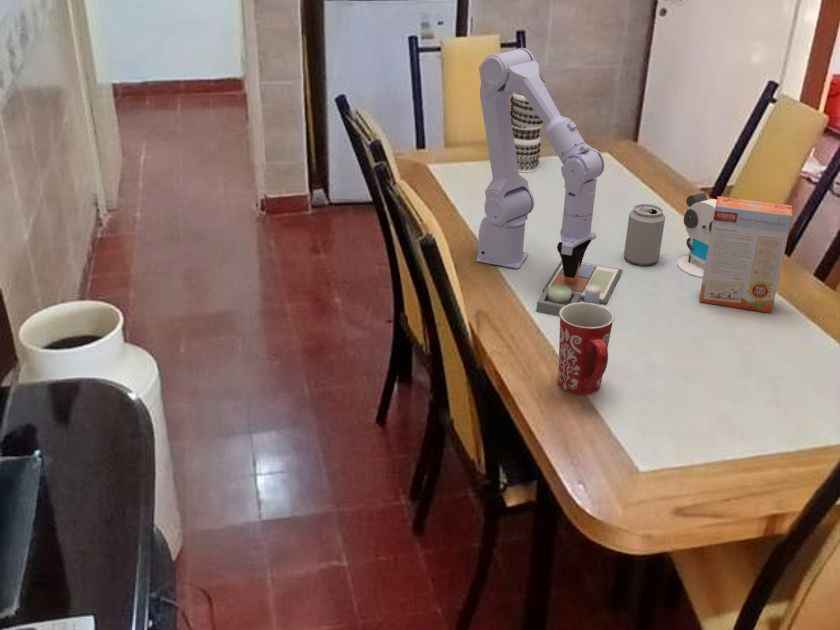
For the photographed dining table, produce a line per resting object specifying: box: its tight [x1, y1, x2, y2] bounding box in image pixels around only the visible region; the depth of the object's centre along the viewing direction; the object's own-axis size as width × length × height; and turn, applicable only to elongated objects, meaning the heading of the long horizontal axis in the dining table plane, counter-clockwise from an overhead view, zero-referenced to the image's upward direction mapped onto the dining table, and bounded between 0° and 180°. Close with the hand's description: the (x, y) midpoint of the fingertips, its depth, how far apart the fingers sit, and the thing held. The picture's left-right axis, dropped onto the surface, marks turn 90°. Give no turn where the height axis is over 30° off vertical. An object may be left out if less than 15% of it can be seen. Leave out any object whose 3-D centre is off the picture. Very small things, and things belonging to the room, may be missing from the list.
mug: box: [557, 301, 615, 396], centre depth 157 cm, size 13×9×14 cm
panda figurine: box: [676, 192, 717, 279], centre depth 200 cm, size 12×11×15 cm
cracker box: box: [698, 196, 793, 314], centre depth 185 cm, size 14×6×21 cm, turn 71°
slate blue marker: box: [583, 284, 601, 305], centre depth 182 cm, size 3×3×6 cm
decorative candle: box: [509, 74, 546, 174], centre depth 249 cm, size 9×9×25 cm
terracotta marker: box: [564, 262, 580, 284], centre depth 192 cm, size 3×3×6 cm
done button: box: [548, 285, 571, 305], centre depth 185 cm, size 4×4×2 cm
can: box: [623, 203, 666, 266], centre depth 203 cm, size 8×8×12 cm
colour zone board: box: [542, 259, 623, 306], centre depth 196 cm, size 13×16×1 cm
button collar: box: [535, 287, 581, 316], centre depth 186 cm, size 7×7×2 cm
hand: (571, 273), depth 193 cm, fingers closed on terracotta marker, 3 cm apart
